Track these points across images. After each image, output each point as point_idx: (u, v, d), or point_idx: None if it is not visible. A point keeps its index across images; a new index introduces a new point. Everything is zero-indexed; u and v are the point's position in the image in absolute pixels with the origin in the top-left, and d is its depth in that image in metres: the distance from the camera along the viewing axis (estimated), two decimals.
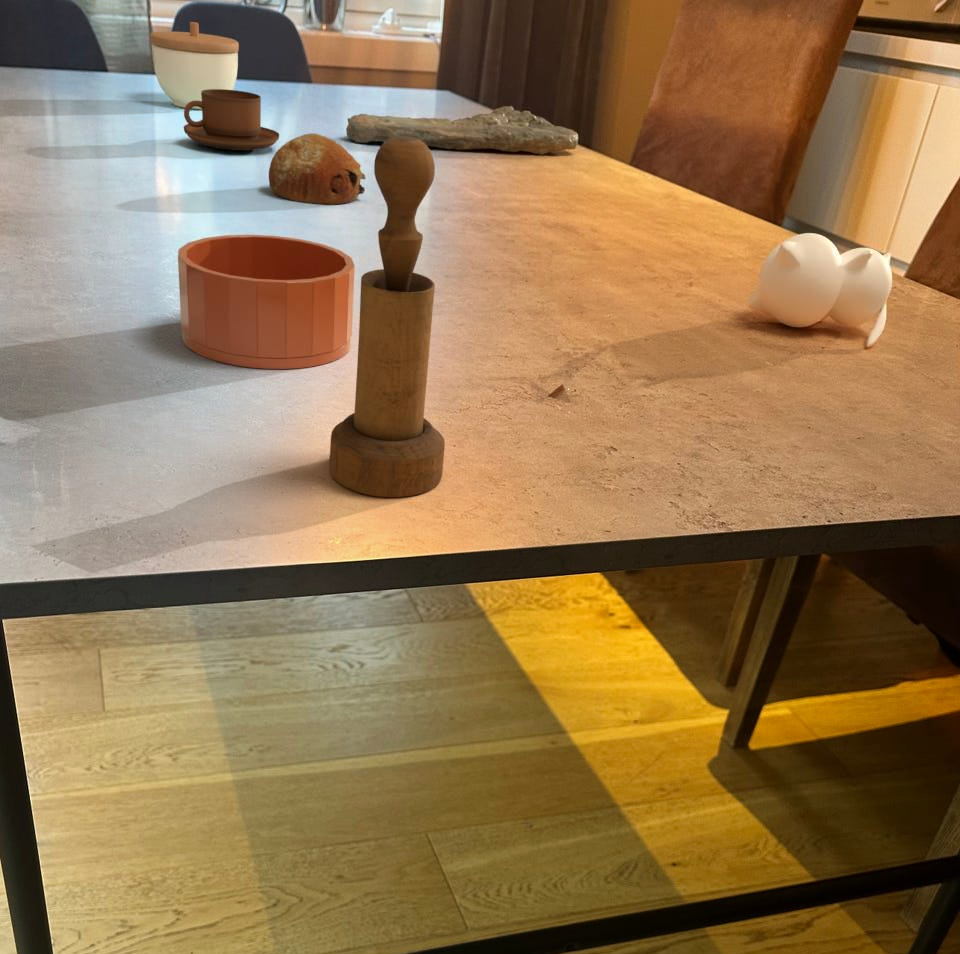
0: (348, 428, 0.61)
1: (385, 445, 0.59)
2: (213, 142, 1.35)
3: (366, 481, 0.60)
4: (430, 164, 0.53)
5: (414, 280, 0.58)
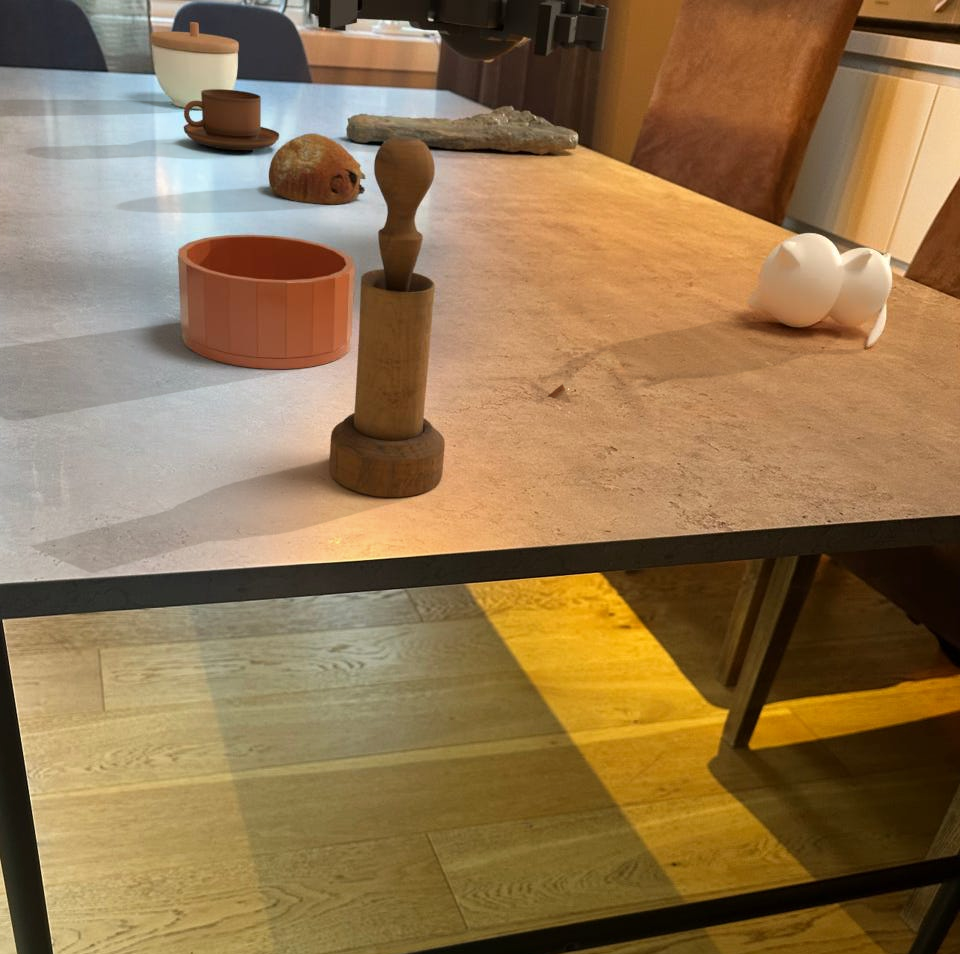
0: (348, 428, 0.61)
1: (385, 445, 0.59)
2: (213, 142, 1.35)
3: (366, 481, 0.60)
4: (430, 164, 0.53)
5: (414, 280, 0.58)
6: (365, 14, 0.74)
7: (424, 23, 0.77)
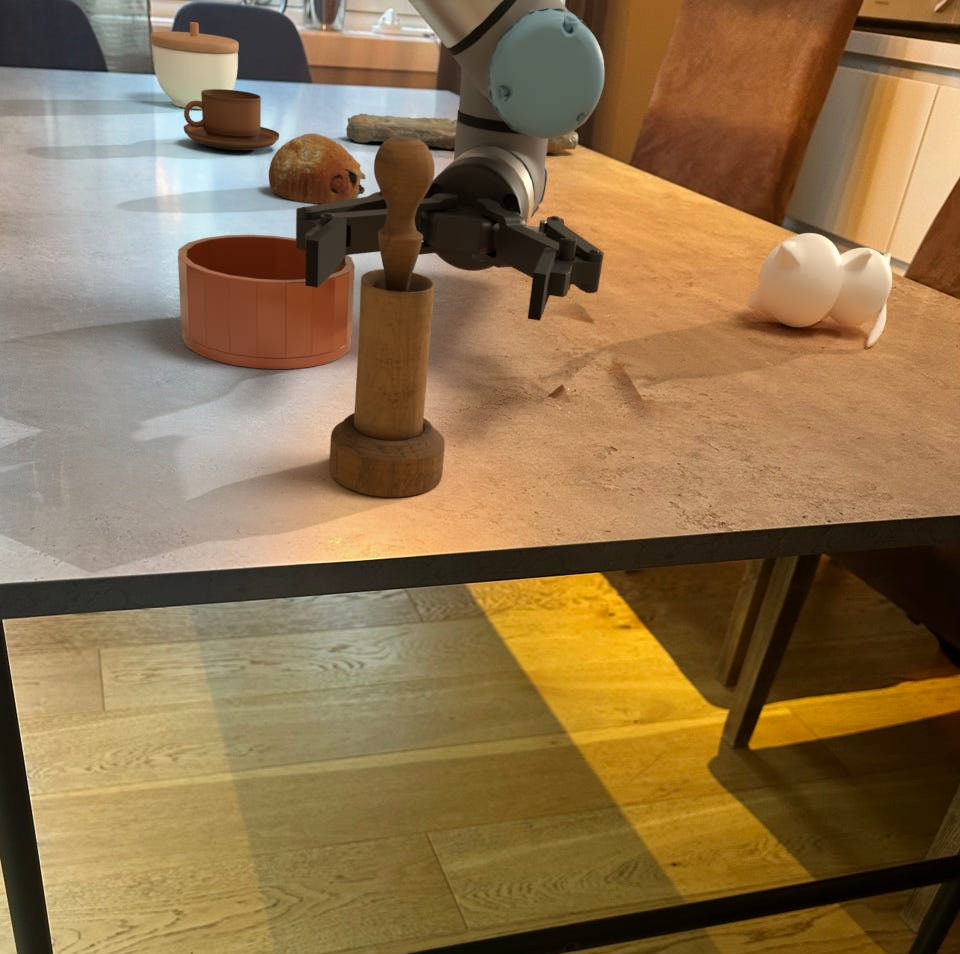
0: (348, 428, 0.61)
1: (385, 445, 0.59)
2: (213, 142, 1.35)
3: (366, 481, 0.60)
4: (430, 164, 0.53)
5: (414, 280, 0.58)
6: (354, 249, 0.72)
7: None
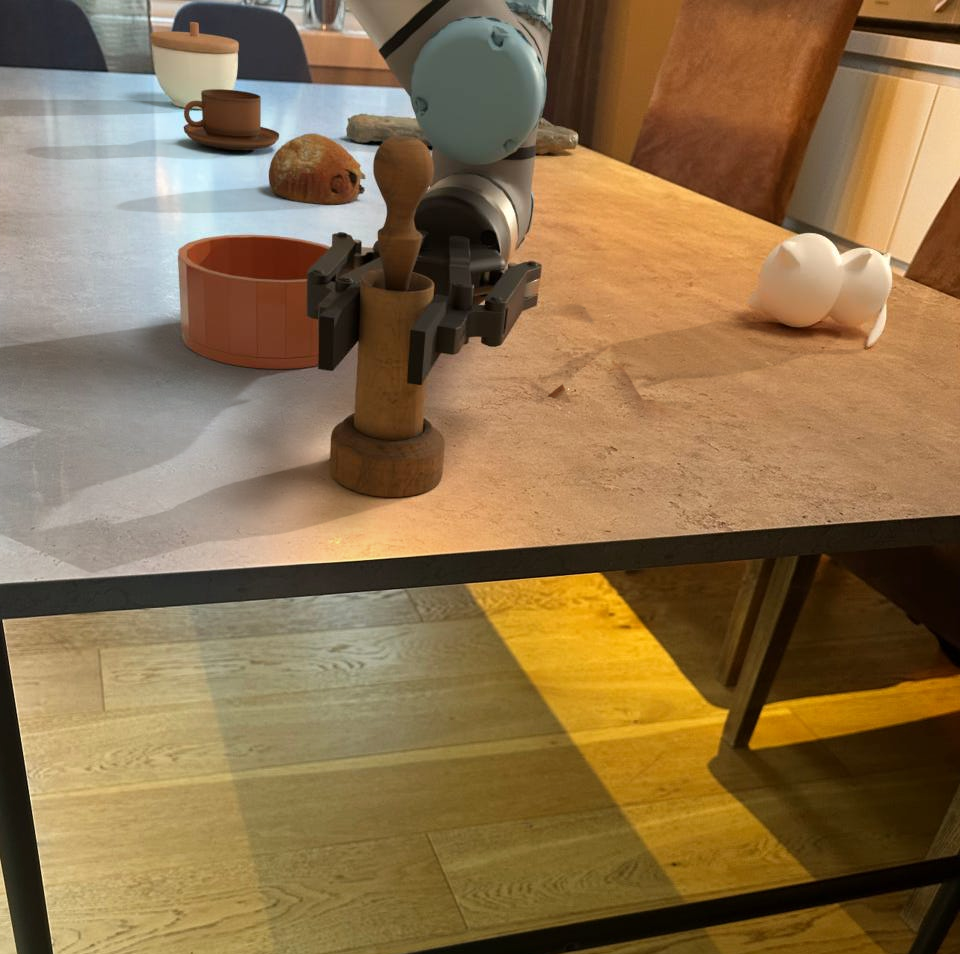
0: (348, 428, 0.61)
1: (386, 445, 0.59)
2: (213, 142, 1.35)
3: (366, 481, 0.60)
4: (429, 164, 0.53)
5: (413, 280, 0.58)
6: None
7: None
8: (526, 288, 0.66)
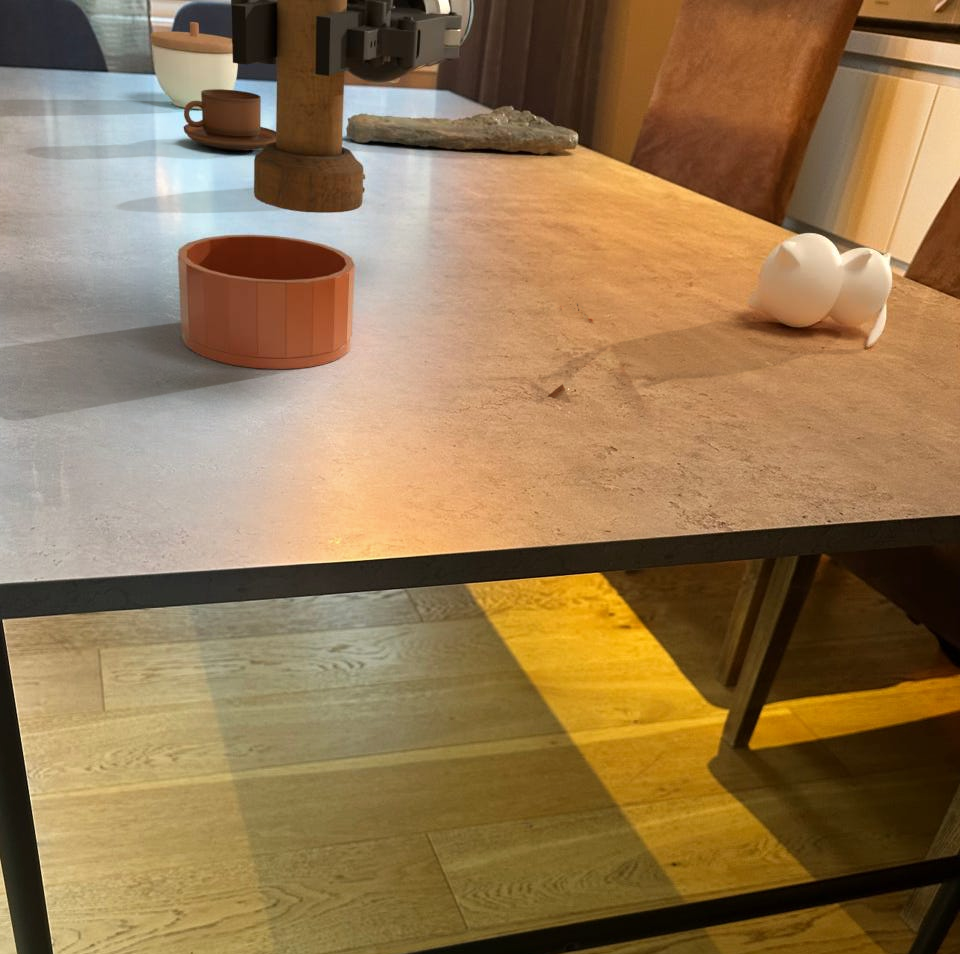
0: (269, 147, 0.64)
1: (303, 158, 0.63)
2: (213, 142, 1.35)
3: (285, 195, 0.63)
4: None
5: None
6: None
7: None
8: (446, 35, 0.69)
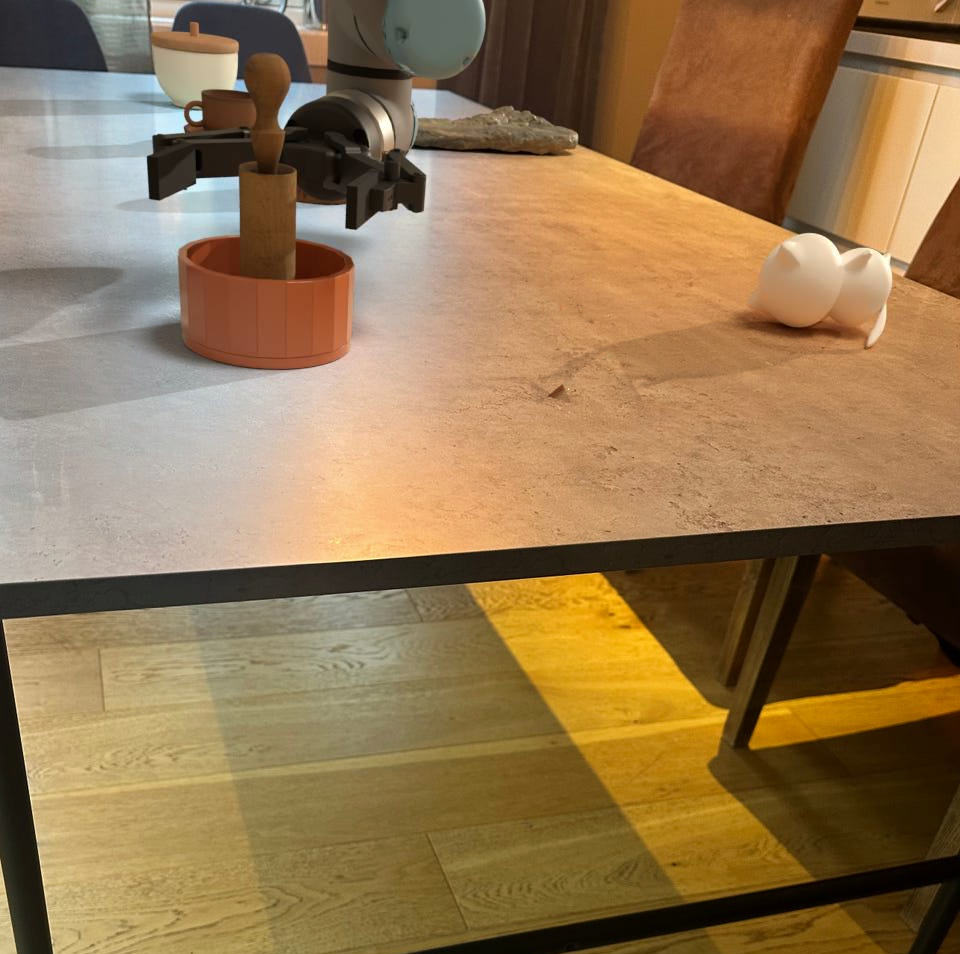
0: None
1: None
2: None
3: None
4: (285, 73, 0.70)
5: (282, 170, 0.75)
6: (206, 173, 0.79)
7: None
8: None
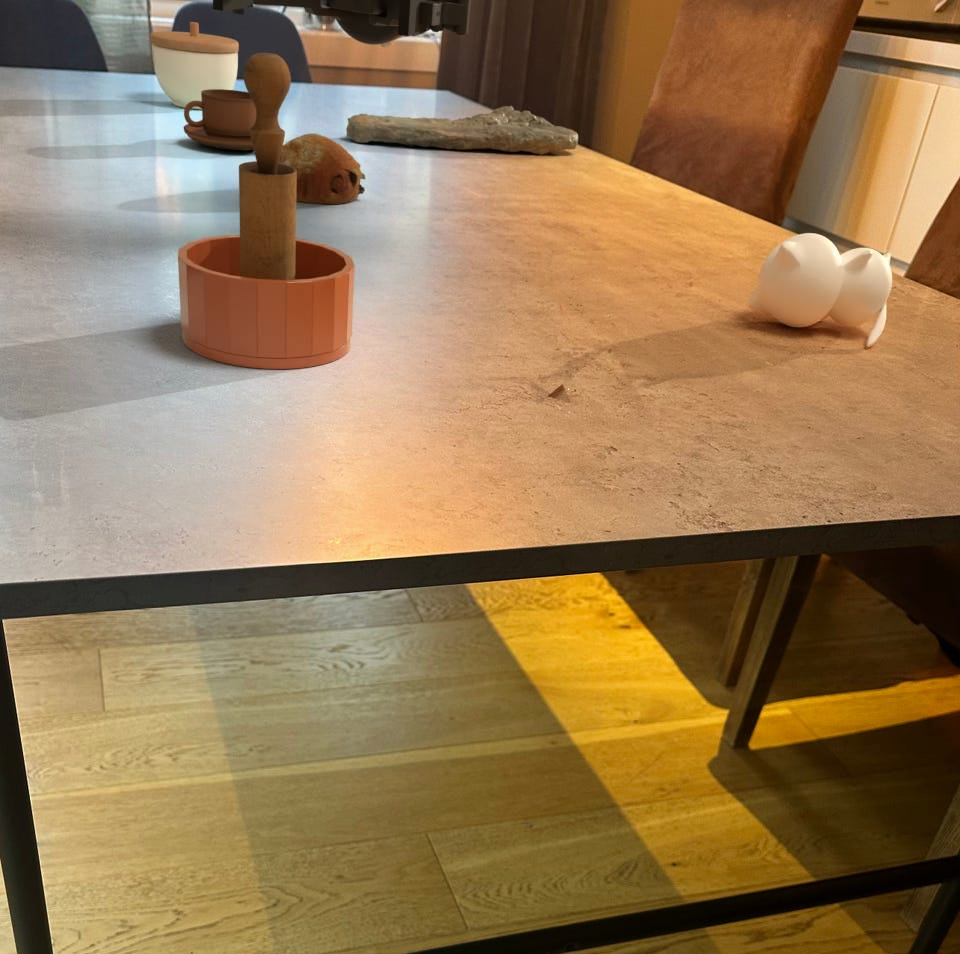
0: None
1: None
2: (213, 142, 1.35)
3: None
4: (285, 73, 0.70)
5: (282, 170, 0.75)
6: (262, 0, 0.84)
7: (317, 9, 0.87)
8: None
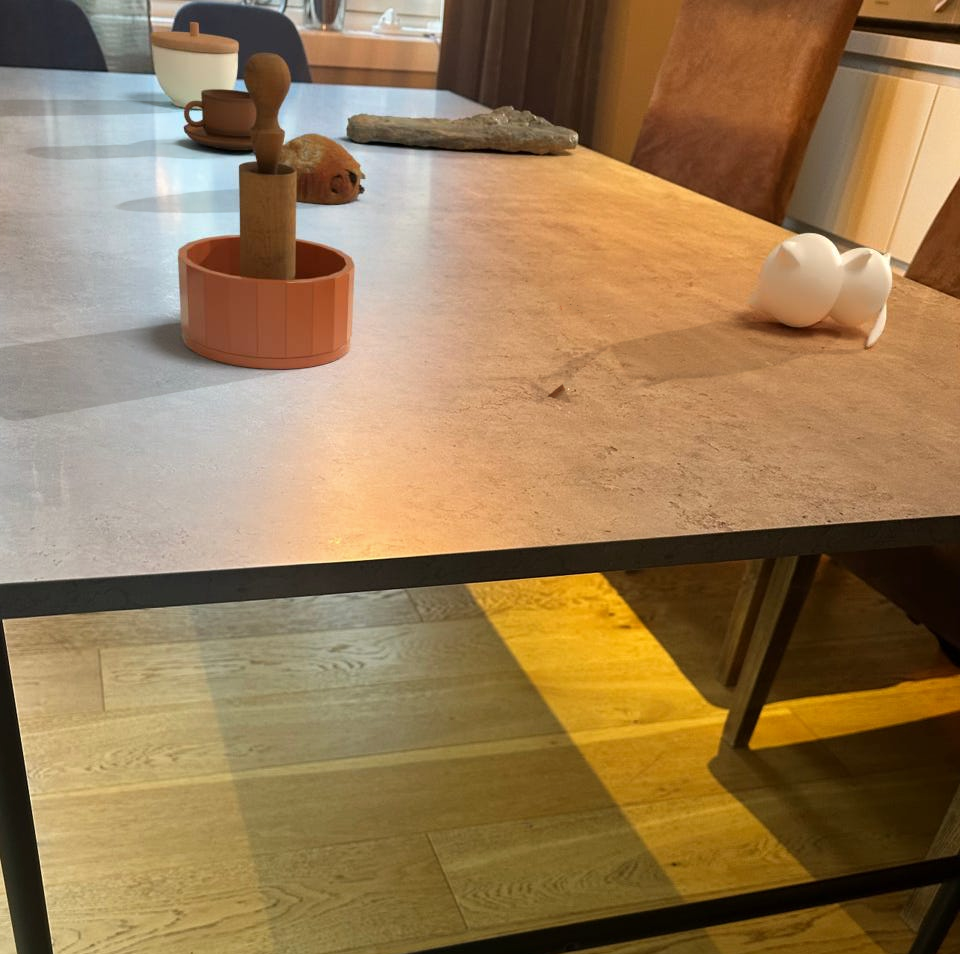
0: None
1: None
2: (213, 142, 1.35)
3: None
4: (285, 73, 0.70)
5: (282, 170, 0.75)
6: None
7: None
8: None
